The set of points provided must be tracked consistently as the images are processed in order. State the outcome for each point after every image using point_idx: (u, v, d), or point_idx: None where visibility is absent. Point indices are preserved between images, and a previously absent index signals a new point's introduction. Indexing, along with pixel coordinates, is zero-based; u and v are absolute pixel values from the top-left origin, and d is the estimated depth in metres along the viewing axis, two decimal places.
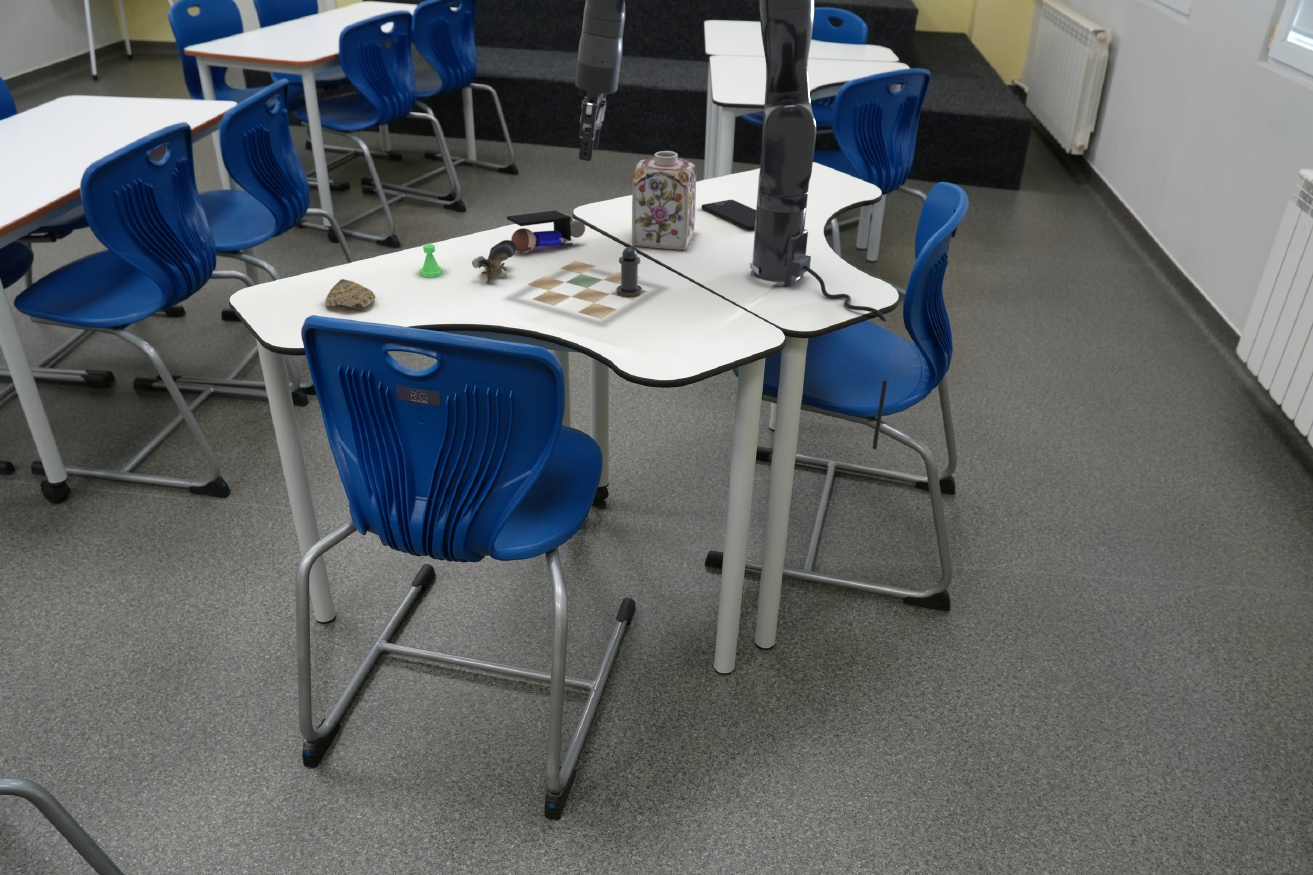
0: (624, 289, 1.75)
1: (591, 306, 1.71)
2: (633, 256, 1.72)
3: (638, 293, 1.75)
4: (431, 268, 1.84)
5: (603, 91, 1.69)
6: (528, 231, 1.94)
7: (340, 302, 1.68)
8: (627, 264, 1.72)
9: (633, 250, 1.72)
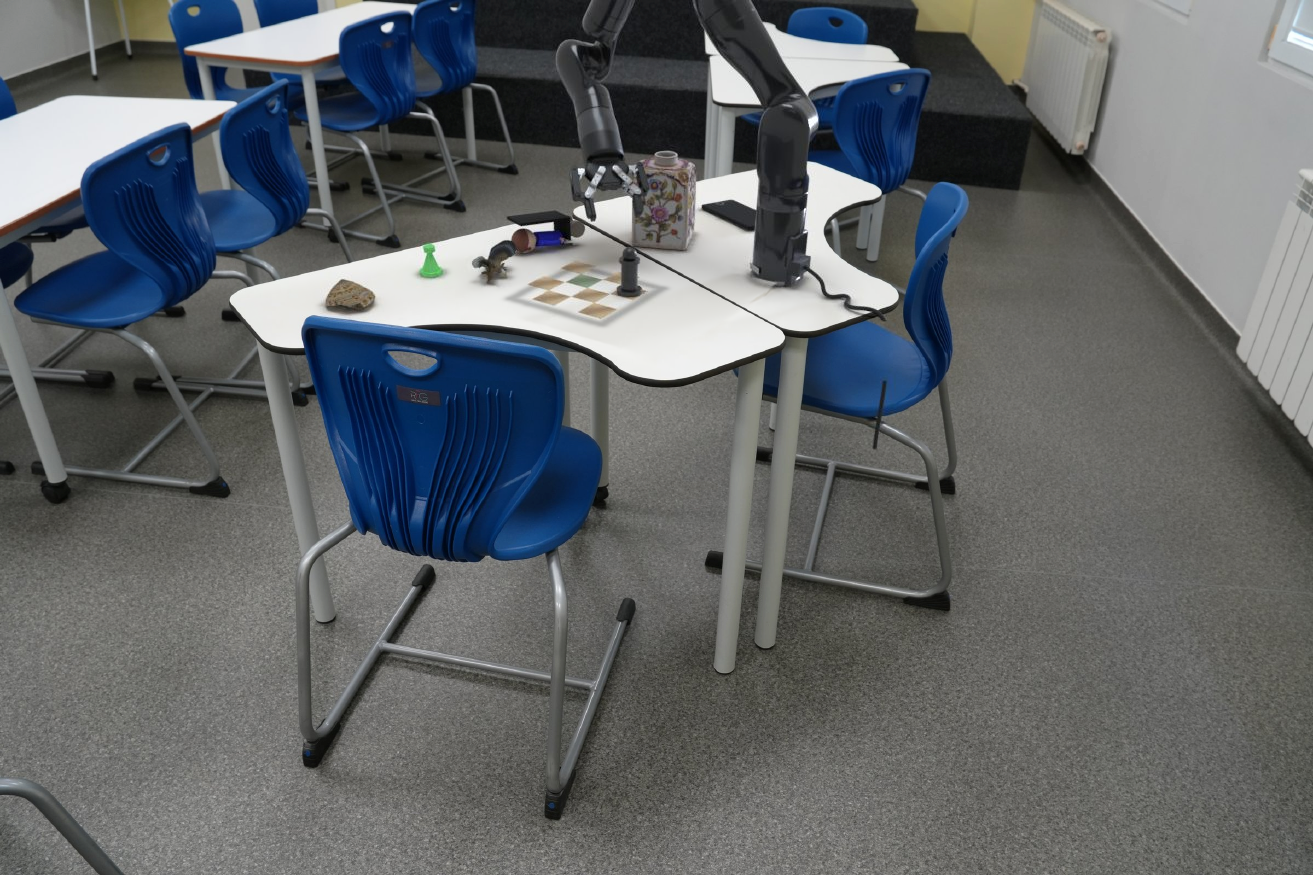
0: (624, 289, 1.75)
1: (591, 306, 1.71)
2: (633, 256, 1.72)
3: (638, 293, 1.75)
4: (431, 268, 1.84)
5: (588, 155, 1.78)
6: (528, 231, 1.94)
7: (340, 302, 1.68)
8: (627, 264, 1.72)
9: (633, 250, 1.72)
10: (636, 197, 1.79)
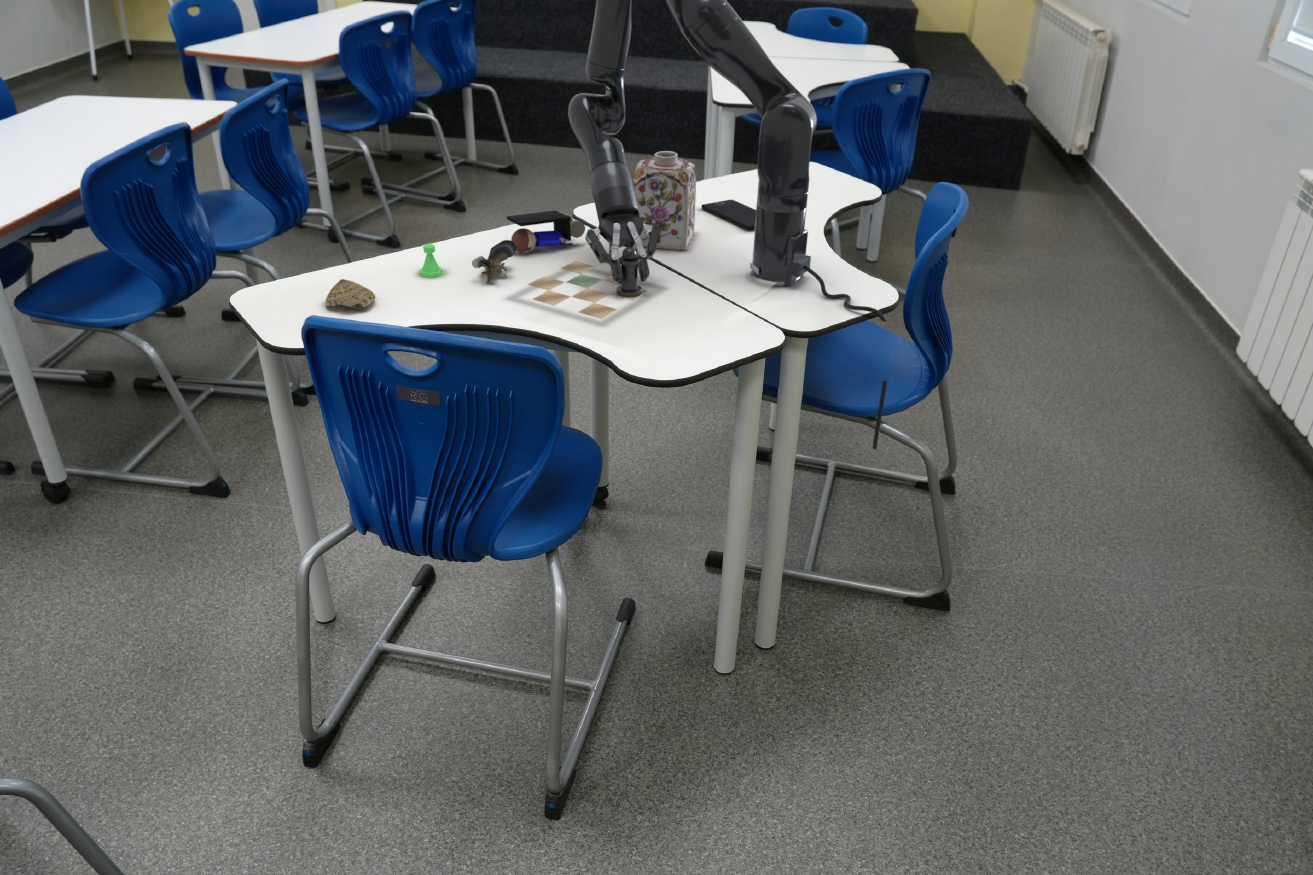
0: (624, 289, 1.75)
1: (591, 306, 1.71)
2: (633, 256, 1.72)
3: (638, 293, 1.75)
4: (431, 268, 1.84)
5: (602, 212, 1.74)
6: (528, 231, 1.94)
7: (340, 302, 1.68)
8: (627, 264, 1.72)
9: (633, 250, 1.72)
10: (641, 260, 1.74)
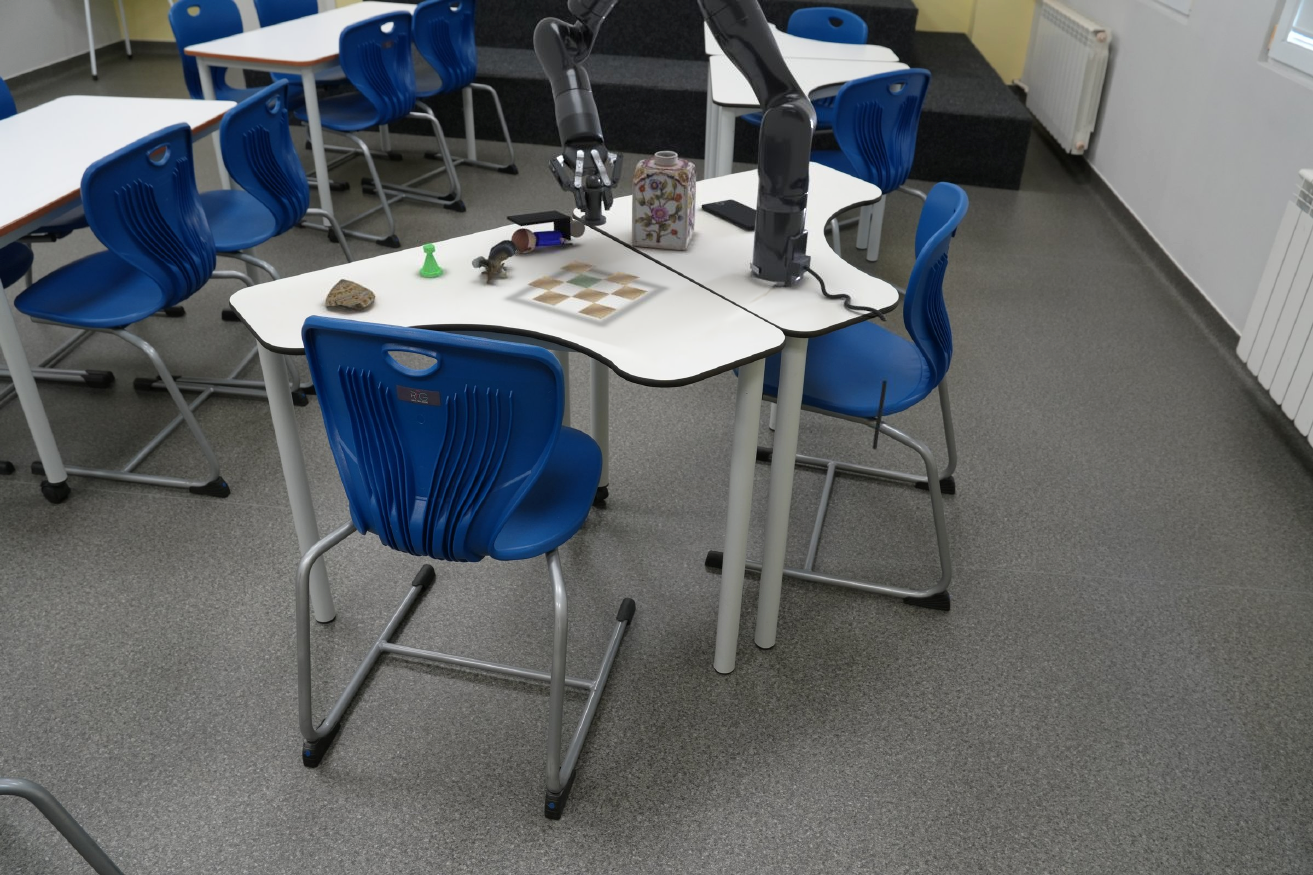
0: (588, 218, 1.73)
1: (591, 306, 1.71)
2: (596, 183, 1.70)
3: (602, 223, 1.73)
4: (431, 268, 1.84)
5: (566, 139, 1.71)
6: (528, 231, 1.94)
7: (340, 302, 1.68)
8: (590, 191, 1.70)
9: (596, 177, 1.70)
10: (605, 188, 1.71)
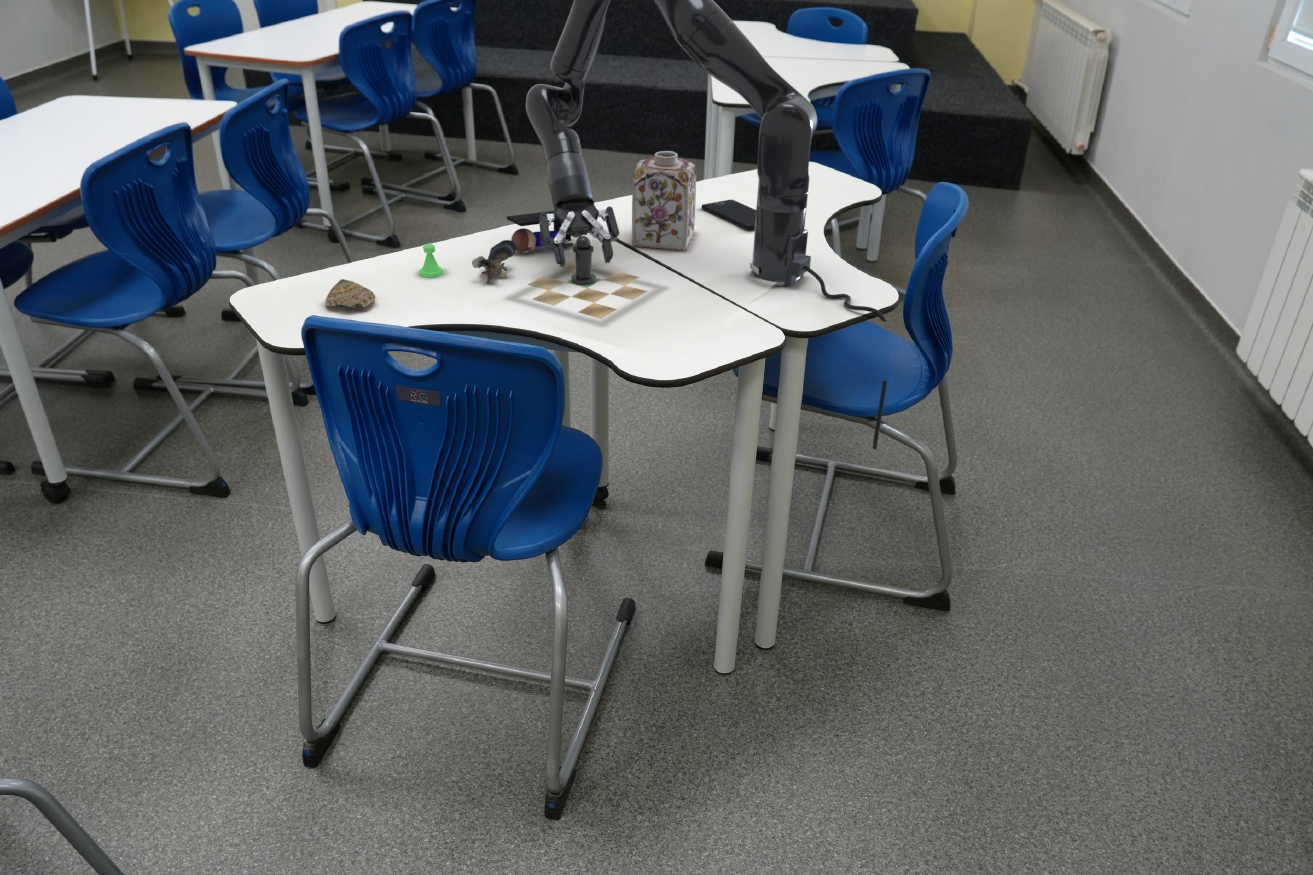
0: (578, 277, 1.80)
1: (591, 306, 1.71)
2: (586, 245, 1.77)
3: (592, 281, 1.80)
4: (431, 268, 1.84)
5: (557, 200, 1.78)
6: (528, 231, 1.94)
7: (340, 302, 1.68)
8: (580, 252, 1.77)
9: (586, 239, 1.77)
10: (605, 242, 1.79)
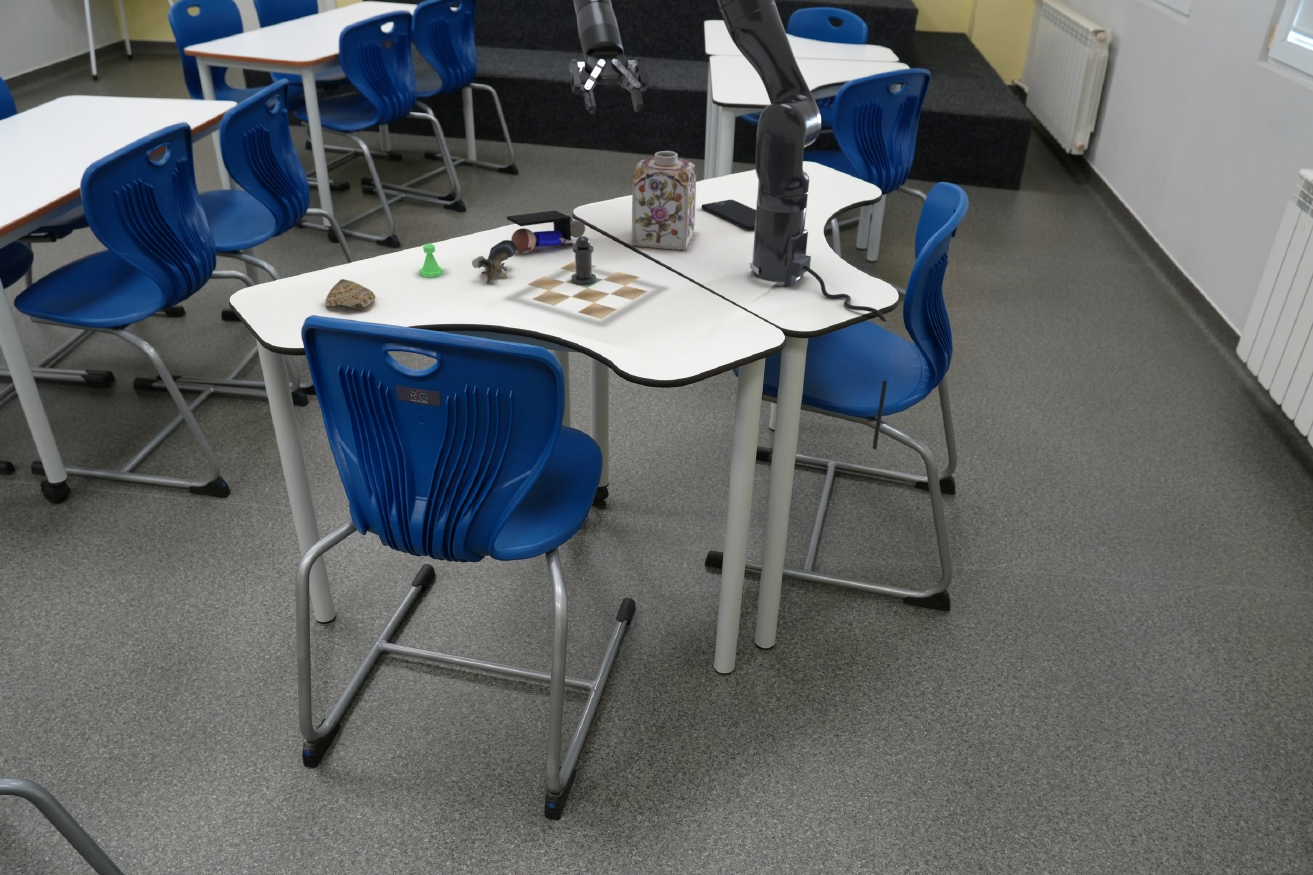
0: (578, 277, 1.80)
1: (591, 306, 1.71)
2: (586, 245, 1.77)
3: (592, 281, 1.80)
4: (431, 268, 1.84)
5: (588, 49, 1.80)
6: (528, 231, 1.94)
7: (340, 302, 1.68)
8: (580, 252, 1.77)
9: (586, 239, 1.77)
10: (635, 90, 1.81)
